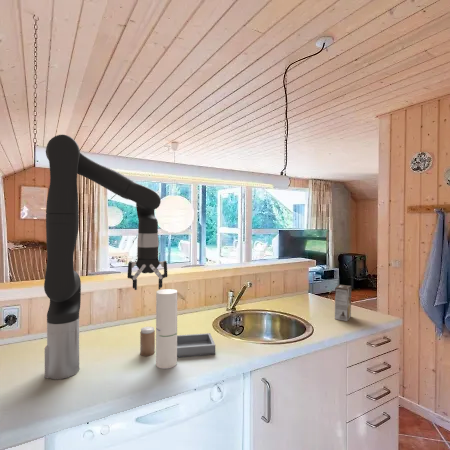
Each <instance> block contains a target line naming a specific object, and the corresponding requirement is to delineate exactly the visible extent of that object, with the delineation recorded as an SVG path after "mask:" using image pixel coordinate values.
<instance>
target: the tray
mask: <svg viewBox="0 0 450 450" xmlns="http://www.w3.org/2000/svg"><path fill="white" fill-rule="evenodd" d="M212 355H216V344H215V340H214V339H213V336H212V334H211V332H207V333H206V332H205V333H193V334H190V333H189V334H179V335H178V334H177V359H178V358H187V357H188V358H191V357H202V356H212Z"/></svg>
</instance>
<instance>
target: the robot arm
mask: <svg viewBox="0 0 450 450" xmlns="http://www.w3.org/2000/svg"><path fill="white" fill-rule="evenodd" d="M45 156H46V159H47V160H48V163H49V164H48V165H49V166H48V167H49V178H50V179H49V186H48V193H47V199H46V205H45V233H46V235H45V236H46V239H45V240H46V266H45V275H44V283H43V288H44V290H43V291H44V293H45V295H46V297H48V299H49V306H48V310H47V313H46V345H45V347H44V378H45V379H51V380H63V379H66V378H69V377H72V376H74V375H76V374H77V373H78V372H79V370H80V310H81V304H82V303H81V299H82V298H81V295H82V290H81V289H82V288H81V287H82V281H81V277H80V275H79V274H78V272H77V271H76V270H74V268H75V267H74V266H75V265H74V256H75V255H74V254H75V248H76V244H77V240H78V234H79V227H80V210H79V209H80V208H79V194H78V175H79V176H82V177H84V178H86V179H89V180H91V182H94V183H96V184H98V185H99V186H100V187H103V189H106V190H108V191H110V192H111V193H113V194H116V195H117V196H118V197H121V198H123V199H125V200H129V201H132V202H134V203H135V206H136V207H135V208H136V215H137V220H138V223H137V226H138V227H137V229H138V230H137V233H138V234H137V243H136V244H137V247H136V248H137V251H136V252H137V253H136V254H137V260H136V261H131V260H130V261H128V263H127V264H128V265H127V279H131V280H132V289H134V291H137V290H138V279H137V278H138V277H139V276H140V275H141V273H142V274H153V273H154V274H155V275H156V276H157V277H158V290H161V289H162V288H163V280H164V279H165V278H168V276H169V275H168V263H167V260H161V261H160V260H159V242H160V241H159V223H158V219H157V217H156V216H155V213H156V212H155V210H157V209H158V208H159V206H161V202H162V201H161V197H160V195H159V194H158V192H156V191H155V190H153V189H151V188H149V187H148V186H147V187H146V186H145V185H142V184H140V183H137V182H136V181H134V180H132V179H131V178H129V177H127V176H125V175H124V174H122V173H120V172H119V171H116V170H114V169H112V168H110V167H106V166H104V165H102V164H100V163H98V162H95V160H92V159H90V158H88V157H87V156H86V155H84V154H83V153H82V152H81V149H80V147H79V145H78V142H77V141H76V140H75V139H74V138H73V137H71V136H70V135H68V134H57V135H55V136H53V137H51V139H49V140H48V142H47V144H46V147H45ZM160 265H161V267H162V268H163V274H162V273H161V272H160V270H159V269H158V267H159V266H160ZM135 266H136V267H137V268H138V270H137V271H136V272H135V273H134V275H133V273H132V271H133V269H134V268H135Z"/></svg>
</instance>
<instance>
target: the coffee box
mask: <svg viewBox="0 0 450 450" xmlns="http://www.w3.org/2000/svg"><path fill="white" fill-rule="evenodd" d="M334 289H335V290H334V319H335V320H339V321H343V322H344V321H345V322H348V321H349V320H350V318H351V316H352V285H345V284H338V285H336V287H335V288H334Z"/></svg>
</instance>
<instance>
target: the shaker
mask: <svg viewBox="0 0 450 450" xmlns="http://www.w3.org/2000/svg"><path fill="white" fill-rule="evenodd" d="M139 333H140V334H139V335H140V336H139V337H140V340H139V341H140V342H139V343H140V345H139V346H140V347H139V348H140V349H139V351H140V352H139V354H140V356H143V357H150V356H152V355H154V354H156V329H155V327H154V326H144V327H141V328H140V332H139Z"/></svg>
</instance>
